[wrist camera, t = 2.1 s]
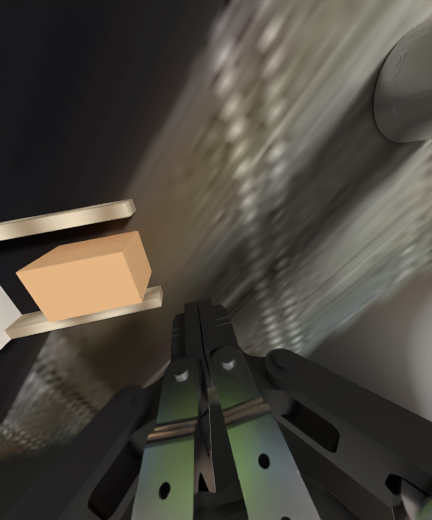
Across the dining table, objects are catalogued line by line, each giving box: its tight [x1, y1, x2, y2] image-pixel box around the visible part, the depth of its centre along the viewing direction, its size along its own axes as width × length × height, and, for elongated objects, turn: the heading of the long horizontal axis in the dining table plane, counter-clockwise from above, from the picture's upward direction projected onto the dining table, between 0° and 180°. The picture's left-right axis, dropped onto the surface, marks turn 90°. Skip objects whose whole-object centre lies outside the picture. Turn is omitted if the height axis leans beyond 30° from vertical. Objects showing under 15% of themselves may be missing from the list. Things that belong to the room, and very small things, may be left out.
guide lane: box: [0, 199, 163, 339], centre depth 20 cm, size 16×11×2 cm
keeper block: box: [16, 231, 151, 323], centre depth 19 cm, size 8×5×6 cm, turn 99°
